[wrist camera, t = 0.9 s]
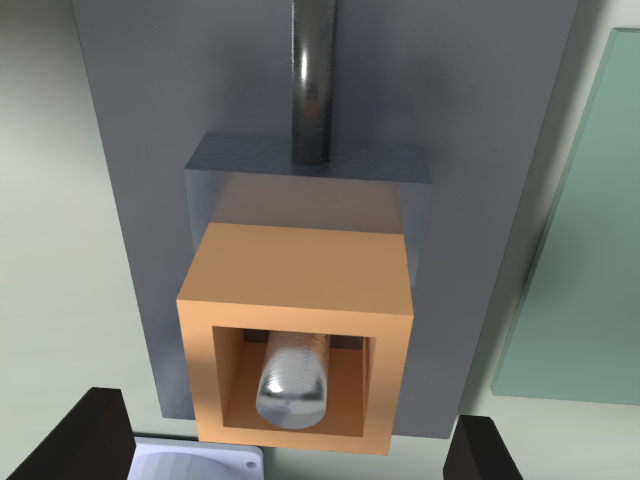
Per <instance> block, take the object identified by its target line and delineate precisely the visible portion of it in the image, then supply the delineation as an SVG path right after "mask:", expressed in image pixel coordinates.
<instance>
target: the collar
mask: <svg viewBox="0 0 640 480" xmlns="http://www.w3.org/2000/svg"><path fill="white" fill-rule="evenodd" d="M176 302H177V308H178V314H179V320H180V326H181V332H182V339H183V345H184V351H185V357H186V363H187V369H188V376H189V382H190V388H191V394H192V400H193V406H194V413H195V419H196V425H197V431H198V437H199V441H203V442H216V443H230V444H243V445H256V446H269V447H282V448H295V449H308V450H321V451H334V452H347V453H361V454H374V455H388V450H389V444H390V439H391V434H392V428H393V423H394V418H395V413H396V407H397V402H398V397H399V391H400V386H401V381H402V375H403V370H404V365H405V360H406V354H407V349H408V344H409V338H410V333H411V328H412V322H413V317H414V314H413V306H412V298H411V290H410V282H409V274H408V266H407V258H406V250H405V242H404V235H399V234H384V233H368V232H352V231H337V230H321V229H305V228H290V227H274V226H258V225H243V224H227V223H211V222H209V225H208V227H207V229H206V232H205V234H204V236H203V239H202V241H201V243H200V246H199V248H198V250H197V252H196V255H195V257H194V259H193V262H192V264H191V266H190V269H189V271H188V273H187V276H186V278H185V280H184V283H183V285H182V287H181V289H180V292H179V294H178V296H177V299H176ZM243 328H249V329H264V330H278V331H293V332H307V333H321V334H336V335H350V336H364V341H363V349H362V350H351V349H336V348H330V349H329V365H328V381H327V397H326V411H325V415H324V416H323V418H322V419H321V420H320V421H319V422H318V423H316V424H314V425H312V426H310V427H306V428H300V429H289V428H283V427H279V426H276V425H273V424H271V423H269V422H268V421H266V420H265V419H264V418H263V417H262V416H261V415H260V414H259V413H258V411H257V408H256V399H257V393H258V388H259V383H260V378H261V373H262V368H263V363H264V358H265V353H266V348H267V344H266V343H251V342H244V330H243Z"/></svg>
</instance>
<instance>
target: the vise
mask: <svg viewBox="0 0 640 480" xmlns="http://www.w3.org/2000/svg"><path fill="white" fill-rule="evenodd" d="M71 2H72V7H73V12H74V16H75V21H76V25H77V30H78V34H79V39H80V43H81V48H82V52H83V57H84V62H85V66H86V71H87V75H88V80H89V84H90V89H91V93H92V98H93V103H94V107H95V112H96V116H97V121H98V125H99V130H100V134H101V139H102V143H103V148H104V153H105V157H106V162H107V166H108V171H109V175H110V180H111V184H112V189H113V194H114V198H115V203H116V207H117V212H118V216H119V221H120V225H121V230H122V235H123V239H124V244H125V248H126V253H127V257H128V262H129V266H130V271H131V275H132V280H133V285H134V289H135V294H136V298H137V303H138V307H139V312H140V316H141V321H142V326H143V330H144V335H145V339H146V344H147V348H148V353H149V357H150V362H151V366H152V371H153V376H154V380H155V385H156V389H157V394H158V398H159V403H160V407H161V412H162V417H163V418H174V419H187V420H196V419H195V413H194V406H193V400H192V394H191V388H190V382H189V376H188V369H187V363H186V357H185V351H184V345H183V339H182V332H181V326H180V320H179V314H178V308H177V302H176V299H177V296H178V294H179V292H180V289H181V287H182V285H183V283H184V280H185V278H186V276H187V273H188V271H189V269H190V266H191V264H192V262H193V259H194V257H195V255H196V252H197V250H198V248H199V246H200V243H201V241H202V239H203V236H204V234H205V232H206V229H207V227H208V225H209V222H211V223H227V224H243V225H258V226H274V227H290V228H305V229H321V230H337V231H352V232H368V233H384V234H399V235H404V242H405V250H406V258H407V266H408V274H409V282H410V290H411V298H412V306H413V314H414V317H413V322H412V328H411V333H410V338H409V344H408V349H407V354H406V360H405V365H404V370H403V375H402V381H401V386H400V391H399V397H398V402H397V407H396V413H395V418H394V423H393V428H392V434H391V435H400V436H413V437H426V438H440V439H449V438H450V435H451V431H452V428H453V424H454V421H455V418H456V414H457V411H458V408H459V404H460V401H461V397H462V394H463V391H464V387H465V384H466V381H467V377H468V374H469V370H470V367H471V364H472V360H473V357H474V354H475V350H476V347H477V343H478V340H479V337H480V333H481V330H482V327H483V323H484V320H485V316H486V313H487V310H488V306H489V303H490V300H491V296H492V293H493V289H494V286H495V283H496V279H497V276H498V272H499V269H500V266H501V262H502V259H503V256H504V252H505V249H506V245H507V242H508V239H509V235H510V232H511V229H512V225H513V222H514V218H515V215H516V212H517V208H518V205H519V202H520V198H521V195H522V191H523V188H524V185H525V181H526V178H527V175H528V171H529V168H530V164H531V161H532V158H533V154H534V151H535V148H536V144H537V141H538V137H539V134H540V131H541V127H542V124H543V121H544V117H545V114H546V110H547V107H548V104H549V100H550V97H551V94H552V90H553V87H554V83H555V80H556V77H557V73H558V70H559V66H560V63H561V60H562V56H563V53H564V50H565V46H566V43H567V39H568V36H569V33H570V29H571V26H572V23H573V19H574V16H575V12H576V9H577V6H578V2H579V0H71ZM243 330H244V342H251V343H266V344H267V348H266V353H265V358H264V363H263V368H262V373H261V378H260V383H259V388H258V393H257V399H256V408H257V411H258V413H259V414H260V415H261V416H262V417H263V418H264V419H265V420H266V421H268V422H269V423H271V424H273V425H276V426H279V427H283V428H289V429H300V428H306V427H310V426H312V425H314V424H316V423H318V422H319V421H320V420H321V419H322V418H323V416H324V415H325V411H326V397H327V381H328V365H329V349H330V348H336V349H351V350H362V349H363V341H364V336H350V335H336V334H321V333H307V332H293V331H278V330H264V329H249V328H243Z"/></svg>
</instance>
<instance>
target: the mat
mask: <svg viewBox="0 0 640 480" xmlns="http://www.w3.org/2000/svg"><path fill="white" fill-rule="evenodd" d="M491 391H492V395H502V396H515V397H529V398H543V399H557V400H571V401H584V402H598V403H612V404H626V405H640V29H622V28H612V30H611V33H610V36H609V39H608V42H607V45H606V47H605V50H604V53H603V56H602V59H601V62H600V65H599V68H598V71H597V74H596V77H595V80H594V83H593V86H592V89H591V92H590V95H589V98H588V101H587V104H586V106H585V109H584V112H583V115H582V118H581V121H580V124H579V127H578V130H577V133H576V136H575V139H574V142H573V145H572V148H571V151H570V154H569V157H568V160H567V162H566V165H565V168H564V171H563V174H562V177H561V180H560V183H559V186H558V189H557V192H556V195H555V198H554V201H553V204H552V207H551V210H550V213H549V216H548V218H547V221H546V224H545V227H544V230H543V233H542V236H541V239H540V242H539V245H538V248H537V251H536V254H535V257H534V260H533V263H532V266H531V269H530V272H529V275H528V277H527V280H526V283H525V286H524V289H523V292H522V295H521V298H520V301H519V304H518V307H517V310H516V313H515V316H514V319H513V322H512V325H511V328H510V331H509V333H508V336H507V339H506V342H505V345H504V348H503V351H502V354H501V357H500V360H499V363H498V366H497V369H496V372H495V375H494V378H493V381H492V384H491Z"/></svg>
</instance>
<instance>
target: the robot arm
mask: <svg viewBox="0 0 640 480" xmlns="http://www.w3.org/2000/svg"><path fill="white" fill-rule="evenodd" d="M443 478H444V480H523V478H522V476H521V474H520V472H519V471H518V469H517V467H516V465H515V463H514V461H513V459H512V457H511V456H510V454H509V452H508V450H507V448H506V446H505V444H504V442H503V440H502V438H501V436H500V434H499V432H498V430H497V428H496V426H495V424H494V422H493V420H492V419H491V418H490V417H485V416H472V415H460V416H459V419H458V422H457V425H456V429H455V432H454V435H453V439H452V442H451V445H450V448H449V452H448V455H447V458H446V462H445V465H444V468H443ZM6 480H264V467H263V452H262V450H261V449H260V448H258V447H256V446H249V445H236V444H223V443H210V442H197V441H184V440H171V439H158V438H145V437H134V435H133V431H132V428H131V424H130V421H129V417H128V414H127V410H126V407H125V403H124V400H123V396H122V393H121V389H112V388H98V387H92V388H91V389H89V390H88V391H87V392H86V394H85V395H84V396H83V397H82V398H81V399H80V400H79V401H78V402H77V404H76V405H75V406H74V407H73V408H72V409H71V410H70V411H69V413H68V414H67V415H66V416H65V417H64V418H63V419H62V420H61V421H60V423H59V424H58V425H57V426H56V427H55V428H54V429H53V430H52V431H51V432H50V433H49V435H48V436H47V437H46V438H45V439H44V440H43V441H42V442H41V443H40V444H39V445H38V446H37V448H36V449H35V450H34V451H33V452H32V453H31V454H30V455H29V456H28V457H27V458H26V459H25V460H24V461H23V462H22V463H21V464H20V465H19V466H18V467H17V468H16V469H15V471H14V472H13V473H12V474H11V475H10V476H9V477H8V478H7V479H6Z"/></svg>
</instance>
